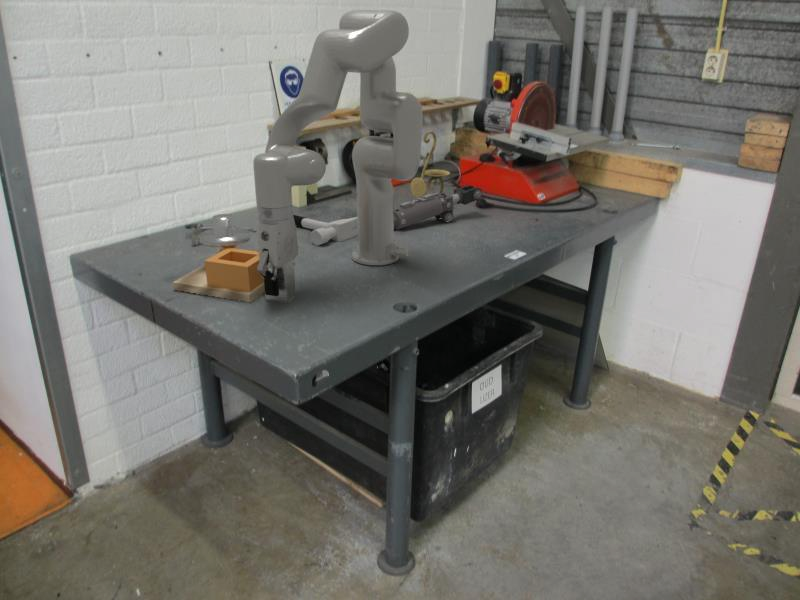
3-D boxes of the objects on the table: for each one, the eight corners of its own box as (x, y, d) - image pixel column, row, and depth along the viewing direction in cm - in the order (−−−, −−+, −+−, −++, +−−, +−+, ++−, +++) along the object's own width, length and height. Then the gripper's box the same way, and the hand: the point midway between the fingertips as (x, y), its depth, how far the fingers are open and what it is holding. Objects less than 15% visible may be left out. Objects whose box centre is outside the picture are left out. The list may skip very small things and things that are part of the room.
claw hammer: (251, 213, 190) (322, 230, 173) (304, 199, 206) (374, 213, 189) (253, 231, 192) (323, 249, 175) (306, 216, 208) (375, 231, 191)
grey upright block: (295, 295, 144) (293, 254, 140) (287, 302, 141) (284, 260, 137) (274, 292, 146) (271, 251, 142) (265, 299, 142) (262, 257, 138)
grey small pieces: (194, 247, 174) (191, 225, 172) (192, 246, 175) (189, 224, 172) (257, 232, 188) (255, 211, 185) (254, 231, 188) (253, 210, 186)
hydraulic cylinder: (485, 210, 204) (483, 180, 199) (390, 246, 188) (385, 215, 183) (470, 204, 209) (468, 175, 204) (377, 239, 194) (372, 209, 189)
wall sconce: (428, 210, 210) (430, 134, 200) (407, 205, 216) (408, 130, 206) (454, 203, 219) (457, 129, 209) (433, 197, 225) (435, 126, 215)
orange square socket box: (293, 270, 159) (290, 216, 153) (249, 302, 140) (244, 242, 135) (221, 260, 165) (215, 208, 159) (170, 289, 146) (161, 232, 141)
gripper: (270, 225, 127) (276, 306, 134) (308, 204, 142) (312, 277, 149) (237, 221, 129) (245, 301, 136) (278, 200, 144) (283, 273, 151)
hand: (280, 288), depth 142 cm, fingers open, 6 cm apart
